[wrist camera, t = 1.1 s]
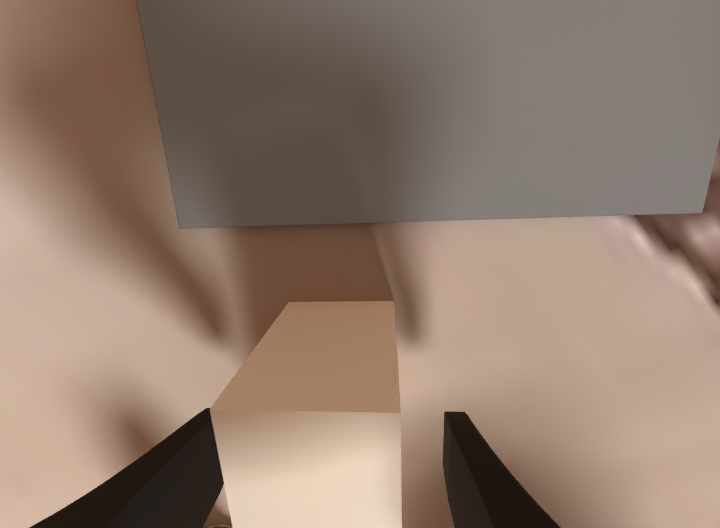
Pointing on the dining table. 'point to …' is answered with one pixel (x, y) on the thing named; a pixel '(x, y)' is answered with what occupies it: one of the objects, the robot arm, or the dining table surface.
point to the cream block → (315, 421)
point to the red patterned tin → (220, 526)
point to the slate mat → (433, 108)
